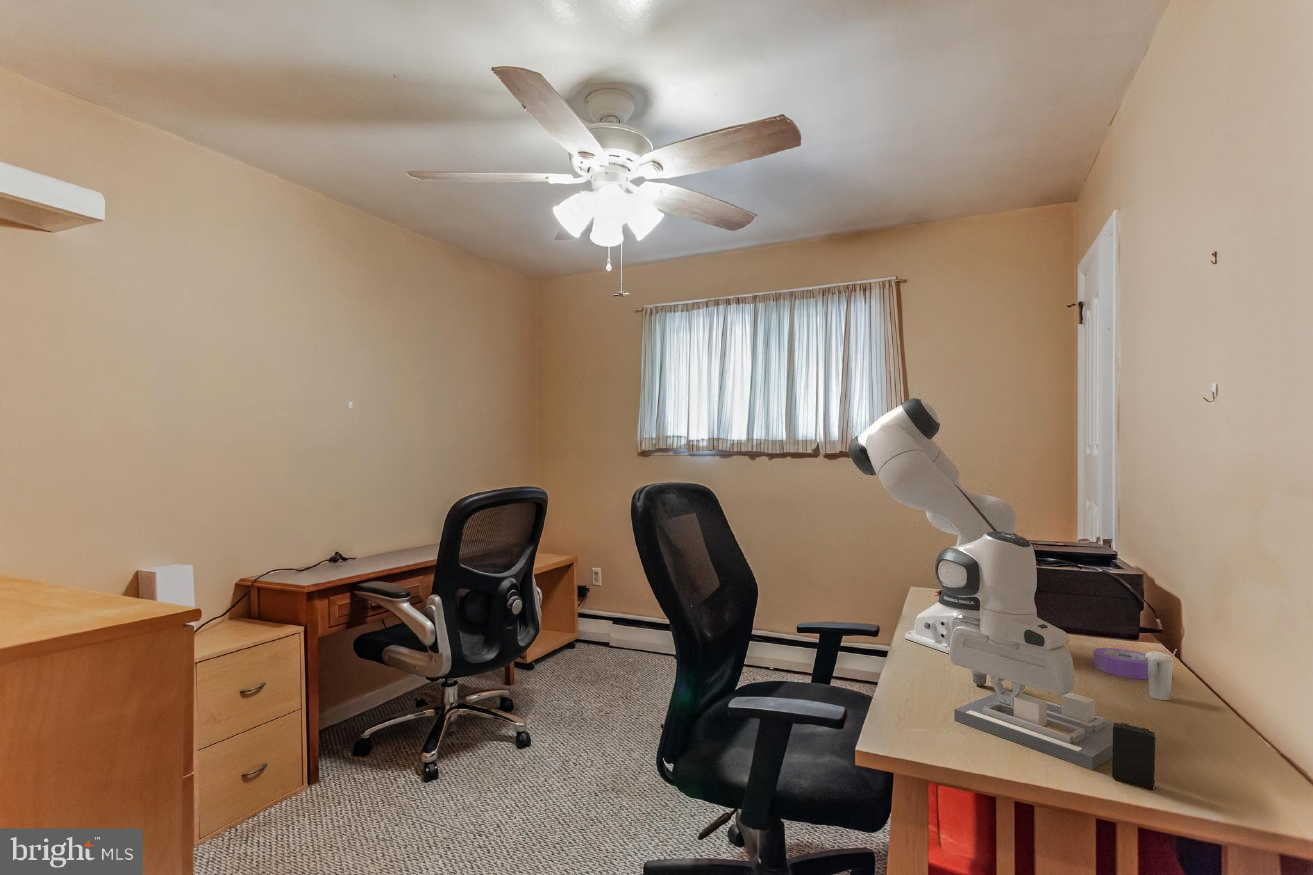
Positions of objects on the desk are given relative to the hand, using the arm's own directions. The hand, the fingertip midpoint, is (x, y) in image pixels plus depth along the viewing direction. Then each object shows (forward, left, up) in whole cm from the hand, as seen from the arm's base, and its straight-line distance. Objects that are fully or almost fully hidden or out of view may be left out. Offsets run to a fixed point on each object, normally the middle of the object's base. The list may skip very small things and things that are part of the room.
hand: (1007, 704), depth 112 cm
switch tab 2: (+8, +8, -2) cm, 12 cm away
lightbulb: (-14, +17, -4) cm, 23 cm away
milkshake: (+10, +42, -4) cm, 44 cm away
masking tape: (-1, +56, -5) cm, 56 cm away
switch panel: (+4, +4, -4) cm, 7 cm away
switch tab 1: (+4, 0, -2) cm, 4 cm away
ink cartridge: (+20, -4, -4) cm, 21 cm away
